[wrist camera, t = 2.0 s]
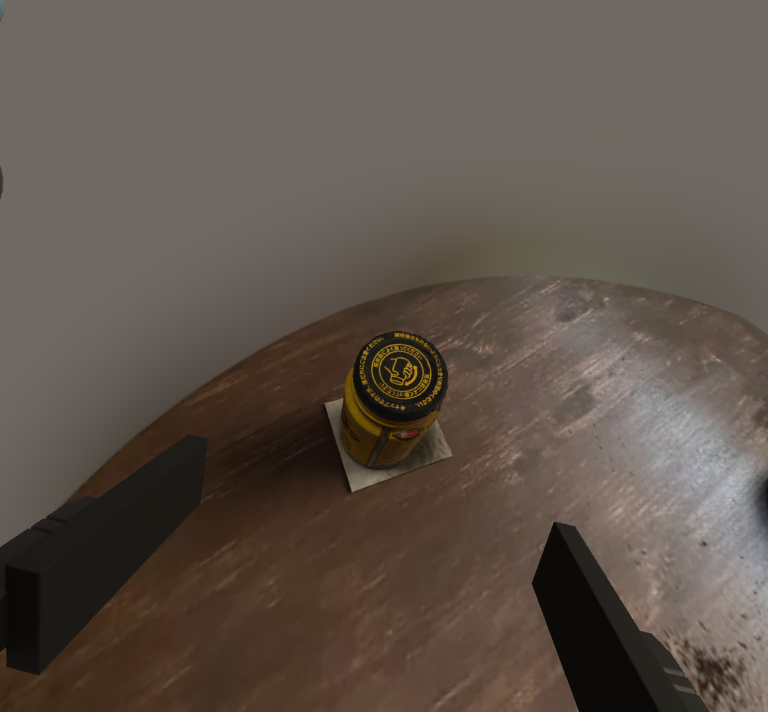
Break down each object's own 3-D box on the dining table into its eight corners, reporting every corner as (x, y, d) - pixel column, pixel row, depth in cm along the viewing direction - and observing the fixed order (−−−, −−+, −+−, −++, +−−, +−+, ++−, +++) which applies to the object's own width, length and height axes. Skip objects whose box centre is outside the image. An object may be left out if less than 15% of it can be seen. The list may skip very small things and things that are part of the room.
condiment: (324, 404, 32) (323, 330, 21) (418, 376, 34) (460, 298, 23) (351, 492, 29) (367, 459, 18) (451, 456, 31) (517, 408, 21)
